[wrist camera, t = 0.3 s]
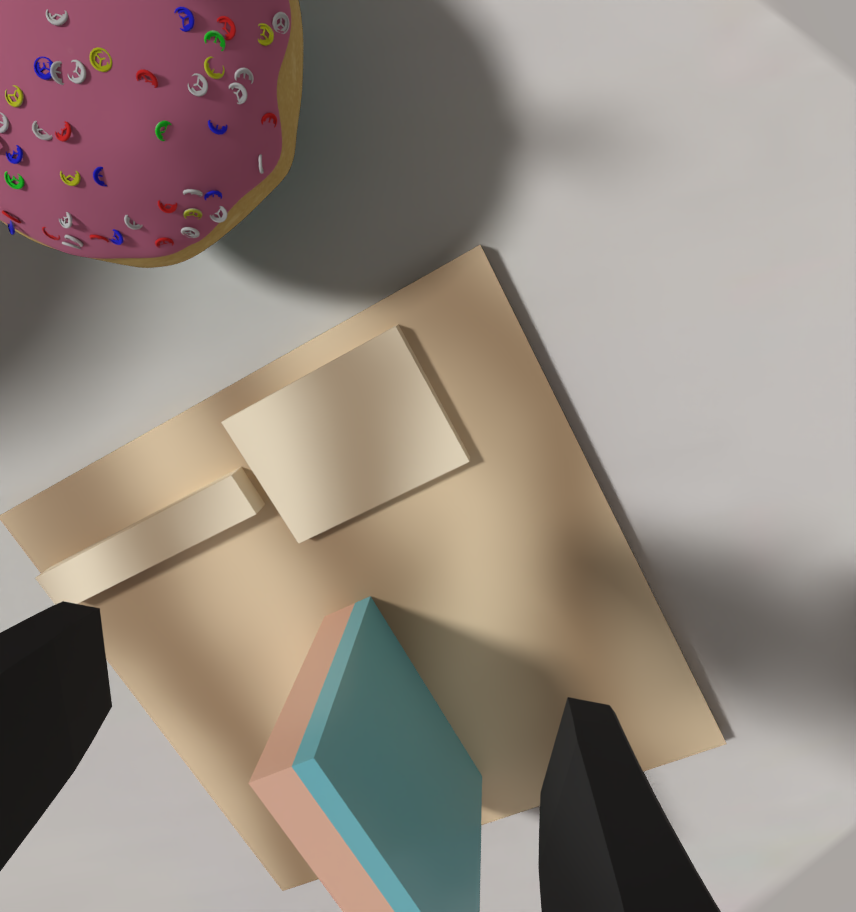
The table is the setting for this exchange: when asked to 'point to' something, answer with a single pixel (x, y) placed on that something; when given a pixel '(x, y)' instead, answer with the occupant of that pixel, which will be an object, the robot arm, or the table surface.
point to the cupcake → (144, 121)
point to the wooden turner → (295, 463)
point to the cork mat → (389, 573)
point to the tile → (373, 776)
